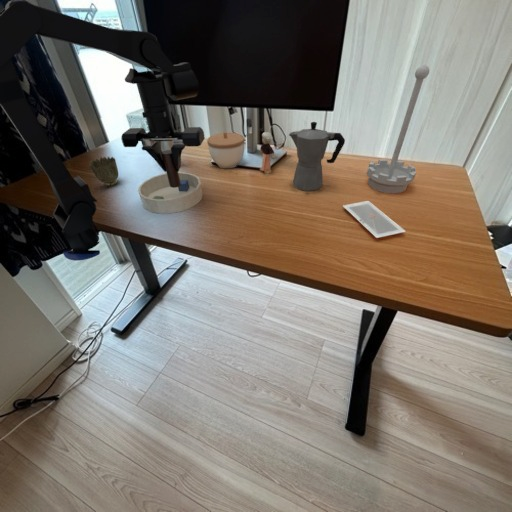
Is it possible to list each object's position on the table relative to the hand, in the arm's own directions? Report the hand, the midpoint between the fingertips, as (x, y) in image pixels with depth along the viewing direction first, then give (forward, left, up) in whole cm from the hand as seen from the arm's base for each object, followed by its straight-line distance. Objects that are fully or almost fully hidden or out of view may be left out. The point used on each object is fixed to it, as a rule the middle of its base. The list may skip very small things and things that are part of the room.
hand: (172, 171), depth 70 cm
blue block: (+8, +1, -9) cm, 12 cm away
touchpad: (-8, -51, -10) cm, 53 cm away
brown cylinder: (0, 0, -4) cm, 4 cm away
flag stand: (+12, -61, -10) cm, 63 cm away
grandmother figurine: (+22, -24, -10) cm, 34 cm away
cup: (+12, +26, -10) cm, 30 cm away
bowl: (+3, +3, -10) cm, 10 cm away
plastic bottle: (+27, +10, -10) cm, 30 cm away
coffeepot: (+12, -38, -10) cm, 41 cm away
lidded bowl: (+28, -10, -10) cm, 31 cm away
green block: (-2, +5, -9) cm, 11 cm away
